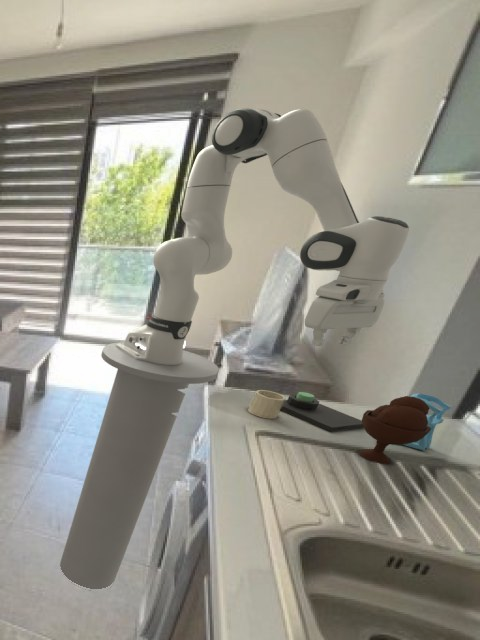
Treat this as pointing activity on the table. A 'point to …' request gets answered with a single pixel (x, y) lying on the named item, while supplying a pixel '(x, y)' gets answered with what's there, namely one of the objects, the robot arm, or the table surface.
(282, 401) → the cream bowl
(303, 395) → the tare button
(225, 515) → the table surface
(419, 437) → the ice cream bowl
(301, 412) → the scale
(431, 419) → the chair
